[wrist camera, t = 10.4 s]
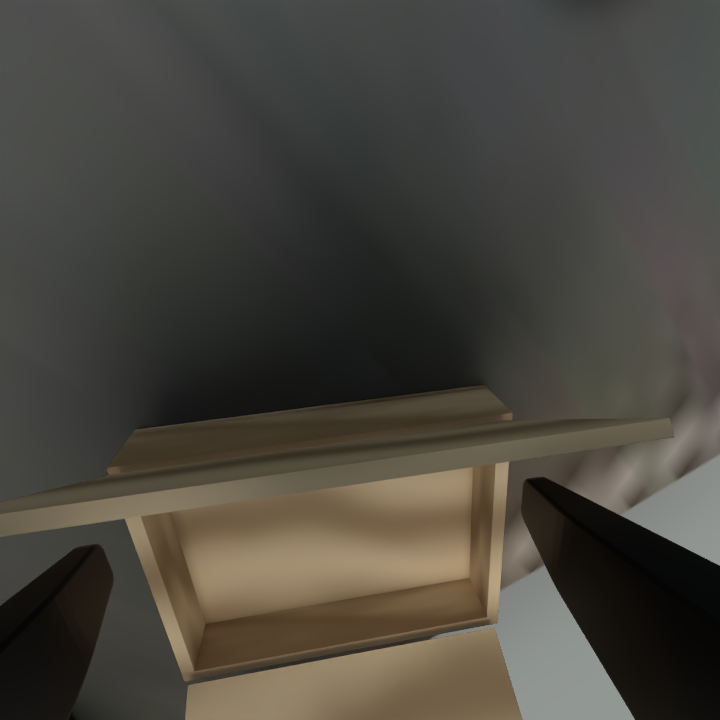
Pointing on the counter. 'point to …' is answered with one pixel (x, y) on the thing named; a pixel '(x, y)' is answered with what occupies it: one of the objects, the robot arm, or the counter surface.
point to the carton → (322, 539)
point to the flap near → (315, 469)
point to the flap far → (372, 686)
